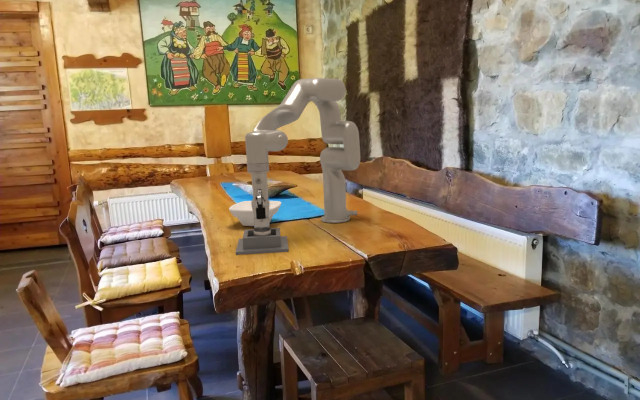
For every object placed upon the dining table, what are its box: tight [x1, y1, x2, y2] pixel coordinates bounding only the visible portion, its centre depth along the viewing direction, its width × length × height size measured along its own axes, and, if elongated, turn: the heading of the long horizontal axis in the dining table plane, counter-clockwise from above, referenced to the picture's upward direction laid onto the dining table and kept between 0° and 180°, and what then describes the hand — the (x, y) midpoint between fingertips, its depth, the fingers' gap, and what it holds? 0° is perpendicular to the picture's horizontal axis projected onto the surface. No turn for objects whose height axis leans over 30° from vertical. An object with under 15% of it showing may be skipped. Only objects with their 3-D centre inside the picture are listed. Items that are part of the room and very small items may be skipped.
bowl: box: [228, 200, 282, 227], centre depth 204 cm, size 21×21×9 cm
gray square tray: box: [235, 227, 290, 256], centre depth 171 cm, size 18×17×5 cm
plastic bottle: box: [251, 192, 272, 237], centre depth 170 cm, size 6×7×20 cm
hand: (261, 215), depth 170 cm, fingers open, 9 cm apart
